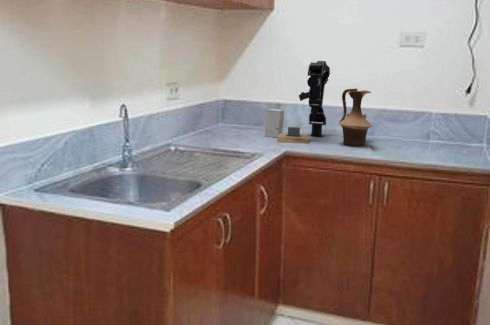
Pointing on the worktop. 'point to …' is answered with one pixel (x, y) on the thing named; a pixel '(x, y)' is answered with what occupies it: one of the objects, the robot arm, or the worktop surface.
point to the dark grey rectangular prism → (294, 131)
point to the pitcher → (354, 120)
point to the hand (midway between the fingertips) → (313, 117)
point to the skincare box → (274, 122)
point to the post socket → (293, 138)
